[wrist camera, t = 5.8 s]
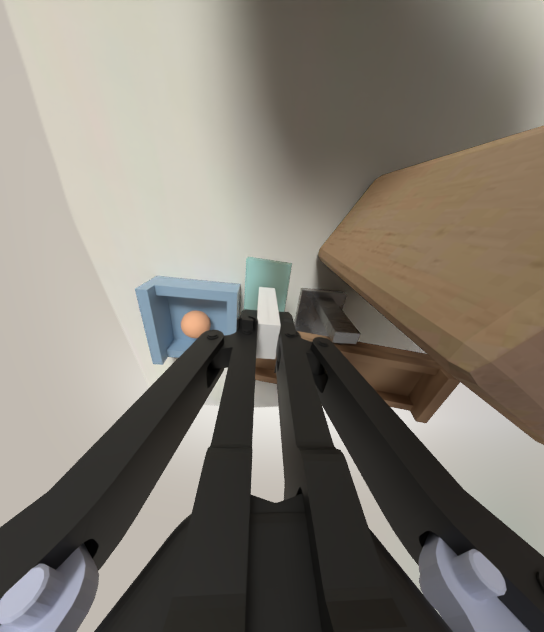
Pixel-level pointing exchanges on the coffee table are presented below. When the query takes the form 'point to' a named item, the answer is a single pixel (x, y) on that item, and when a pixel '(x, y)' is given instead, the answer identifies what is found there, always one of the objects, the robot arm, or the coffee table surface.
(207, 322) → the ball
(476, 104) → the coffee table surface
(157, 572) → the robot arm
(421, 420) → the lever
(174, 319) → the blue square tray
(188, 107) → the coffee table surface
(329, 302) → the fulcrum
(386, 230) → the wooden block
